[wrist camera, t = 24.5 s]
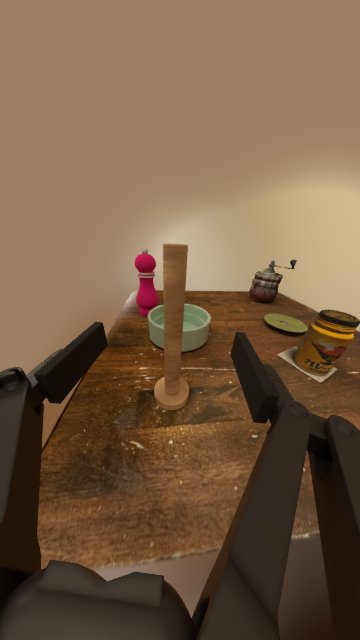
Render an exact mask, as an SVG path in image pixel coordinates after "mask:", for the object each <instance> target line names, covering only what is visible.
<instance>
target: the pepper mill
mask: <svg viewBox="0 0 360 640" xmlns="http://www.w3.org/2000/svg"><path fill="white" fill-rule="evenodd" d="M147 253H148V250H147V249H146V248H143V249H142V254H141V255H138V256H137V257H136V259H135V267H136V268H137V269H138V271H139V272H137V273H138V277H139V279H140V288H139V291H138V294H137V298H136V301H137V304H138V305H139V306H140V307H139V314H140V315H142V316H148V313H149V312H150V311H151V310H152V309H153V308H155V307H157V304H158V303H159V298H158V294H157V292H156V290H155V288H154V284H153V277H154V276H155V275H154V272H153V270H154V269H155V267H156V262H155V259H154V258H153V257H152V256H151V255H149V254H147Z"/></svg>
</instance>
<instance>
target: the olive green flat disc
mask: <svg viewBox="0 0 360 640" xmlns="http://www.w3.org/2000/svg"><path fill="white" fill-rule="evenodd" d="M264 319H265V321H266V322H268V323H269V324H270V325H272V326H274V327H277V328H279V329H282V330H286V331H291V332H305V331H307V329H308V328H307V326H306V325H305V324H304V323H302V322H301V321H299V320H297V319H295V318H292V317H289V316H285V315H279V314H269V315H265V316H264Z"/></svg>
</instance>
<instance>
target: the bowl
mask: <svg viewBox="0 0 360 640" xmlns="http://www.w3.org/2000/svg"><path fill="white" fill-rule="evenodd" d="M210 321H211V317H210V315H209V313H208V312H207V311H206V310H204V309H202V308H200V307H198V306H194V305H191V304H184V320H183V336H182V352H185V351H190V350H194V349H196V348H198V347H200V346H202V345H203V344H204V343H205V342H206V341H207V339H208V334H209V327H210ZM148 331H149V337H150V340H151V341H152V342H153V343H154V344H155V345H157V346H159V347H161V348H163V349H164V305H160V306H157V307H155V308H153V309H152V310H151V311H150V312H149V313H148Z"/></svg>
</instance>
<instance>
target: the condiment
mask: <svg viewBox="0 0 360 640" xmlns="http://www.w3.org/2000/svg"><path fill="white" fill-rule="evenodd" d="M359 324H360V321H359V319H358V318H356V317H354V316H352V315H350V314H347V313H343V312H339V311H335V310H322V311H321V312H320V313H319V315H318V317H317V318H316V319H315V321H314V322H312V323H311V325H310V326H309V328H308V330H307V332H306V334H305V336H304V338H303V340H302V342H301V343H300V346H299V347H298V348H297V347H295V346H293V347H292V348H290V349H288V350H286V351H284V352H282V353H280V354H278V355H277V356H279V357H281V358H282V359H284V360H286V361H287V362H288V363H290V364H292V365H293V366H295V367H296V368H297V369H299V370H301V371H302V372H304V373H305V374H307V375H308V376H310V377H312V378H313V379H315V380H316V381H318V382H323V381H324V380H325V379H326V378H328V377H329V376H330V375H331V374H333V373H334V372H335V371H336V370H338V369H336V368H334V367H333V366H334V365H335V363H336V362H337V360H338V359H339V358H340V356H341V355H342V353H343V352H344V351H345V349H346V347H347V346H348V345H349V343H350V342H351V341H352V339H353V337H354V335H353V332H355V330H356V328H357V326H358V325H359Z"/></svg>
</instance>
